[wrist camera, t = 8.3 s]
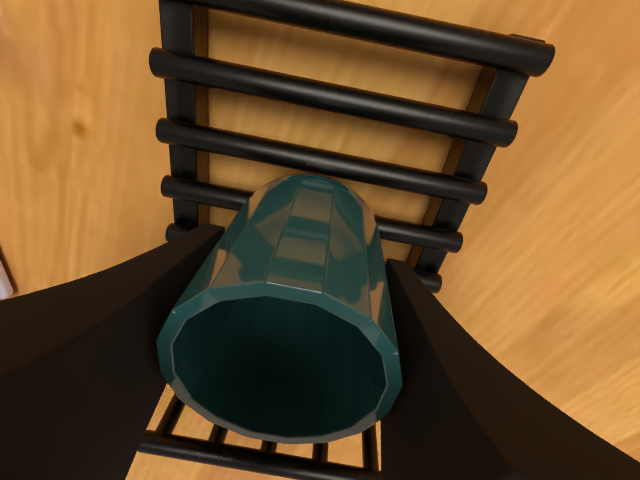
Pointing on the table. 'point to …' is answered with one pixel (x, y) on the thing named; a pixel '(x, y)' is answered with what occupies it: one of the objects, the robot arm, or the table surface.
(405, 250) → the table surface
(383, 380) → the cup
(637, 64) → the table surface
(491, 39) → the rack
